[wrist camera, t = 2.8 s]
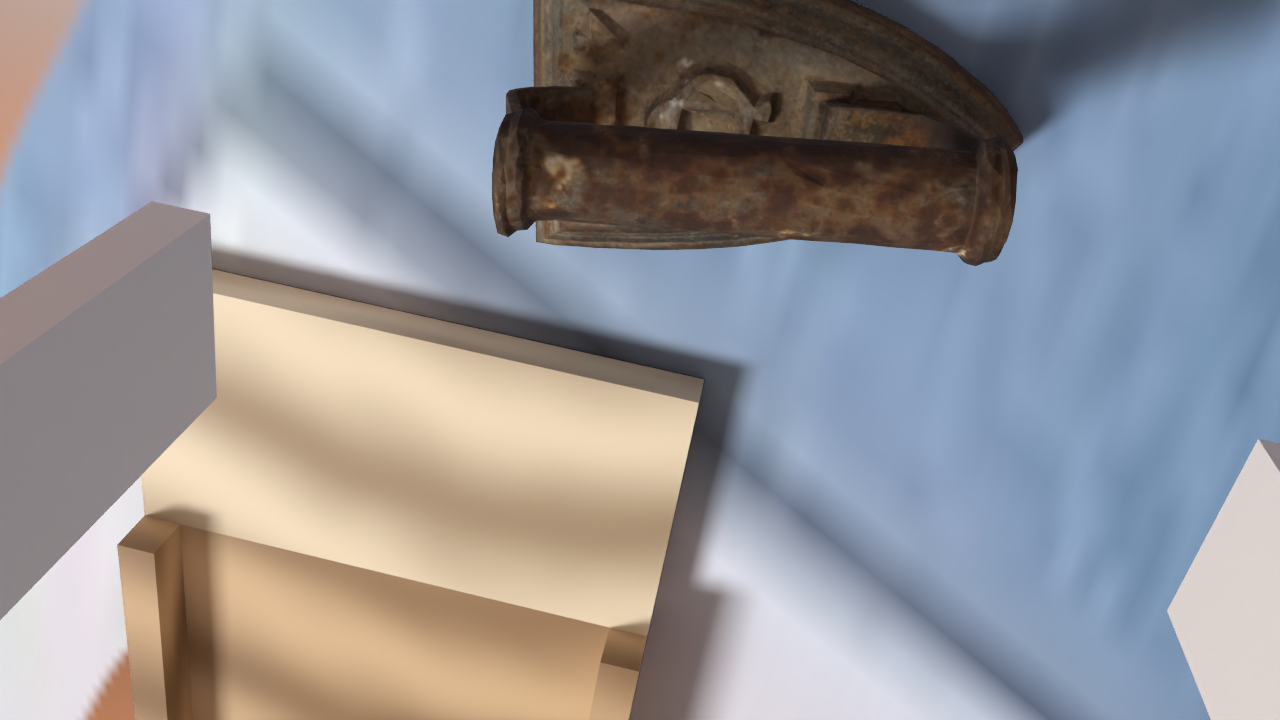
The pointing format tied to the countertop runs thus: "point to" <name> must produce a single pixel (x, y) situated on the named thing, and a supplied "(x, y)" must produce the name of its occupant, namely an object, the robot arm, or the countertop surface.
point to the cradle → (401, 522)
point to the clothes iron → (750, 131)
